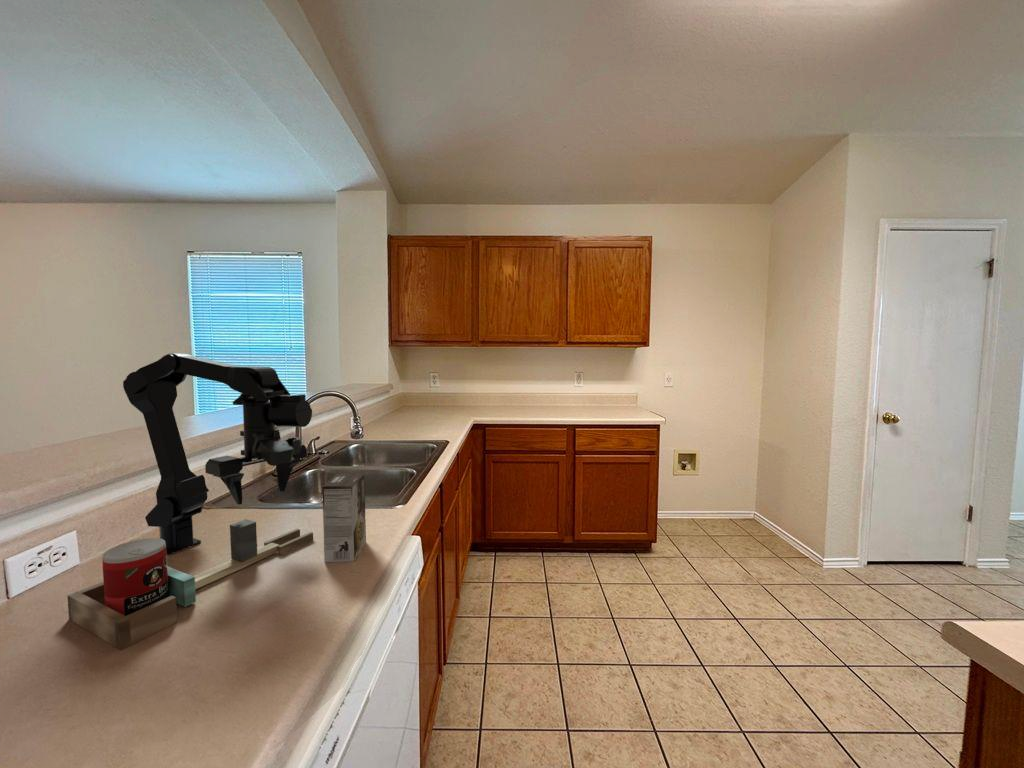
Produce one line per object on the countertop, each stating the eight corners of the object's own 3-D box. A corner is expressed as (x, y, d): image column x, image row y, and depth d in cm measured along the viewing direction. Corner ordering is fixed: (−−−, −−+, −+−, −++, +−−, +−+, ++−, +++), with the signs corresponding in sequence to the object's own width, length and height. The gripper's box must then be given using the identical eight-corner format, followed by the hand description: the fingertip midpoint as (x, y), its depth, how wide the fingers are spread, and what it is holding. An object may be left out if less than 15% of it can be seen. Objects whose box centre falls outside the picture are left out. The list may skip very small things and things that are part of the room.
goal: (68, 619, 66) (67, 595, 66) (124, 596, 72) (123, 574, 72) (120, 650, 59) (119, 623, 59) (177, 621, 65) (175, 597, 65)
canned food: (129, 631, 63) (125, 562, 62) (92, 623, 65) (88, 555, 64) (181, 603, 70) (178, 540, 70) (146, 596, 72) (143, 535, 72)
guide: (264, 550, 89) (264, 542, 89) (297, 536, 97) (297, 528, 97) (281, 555, 87) (280, 547, 87) (313, 540, 94) (313, 532, 94)
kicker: (149, 591, 73) (147, 545, 73) (259, 545, 91) (258, 508, 91) (185, 607, 69) (182, 558, 68) (293, 555, 87) (292, 516, 86)
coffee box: (337, 543, 93) (336, 473, 92) (367, 542, 94) (365, 472, 93) (322, 563, 84) (320, 485, 83) (355, 561, 85) (353, 484, 84)
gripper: (235, 436, 76) (238, 519, 77) (323, 422, 92) (324, 491, 93) (202, 431, 81) (205, 509, 82) (291, 419, 97) (292, 483, 98)
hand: (261, 497), depth 88 cm, fingers open, 9 cm apart
